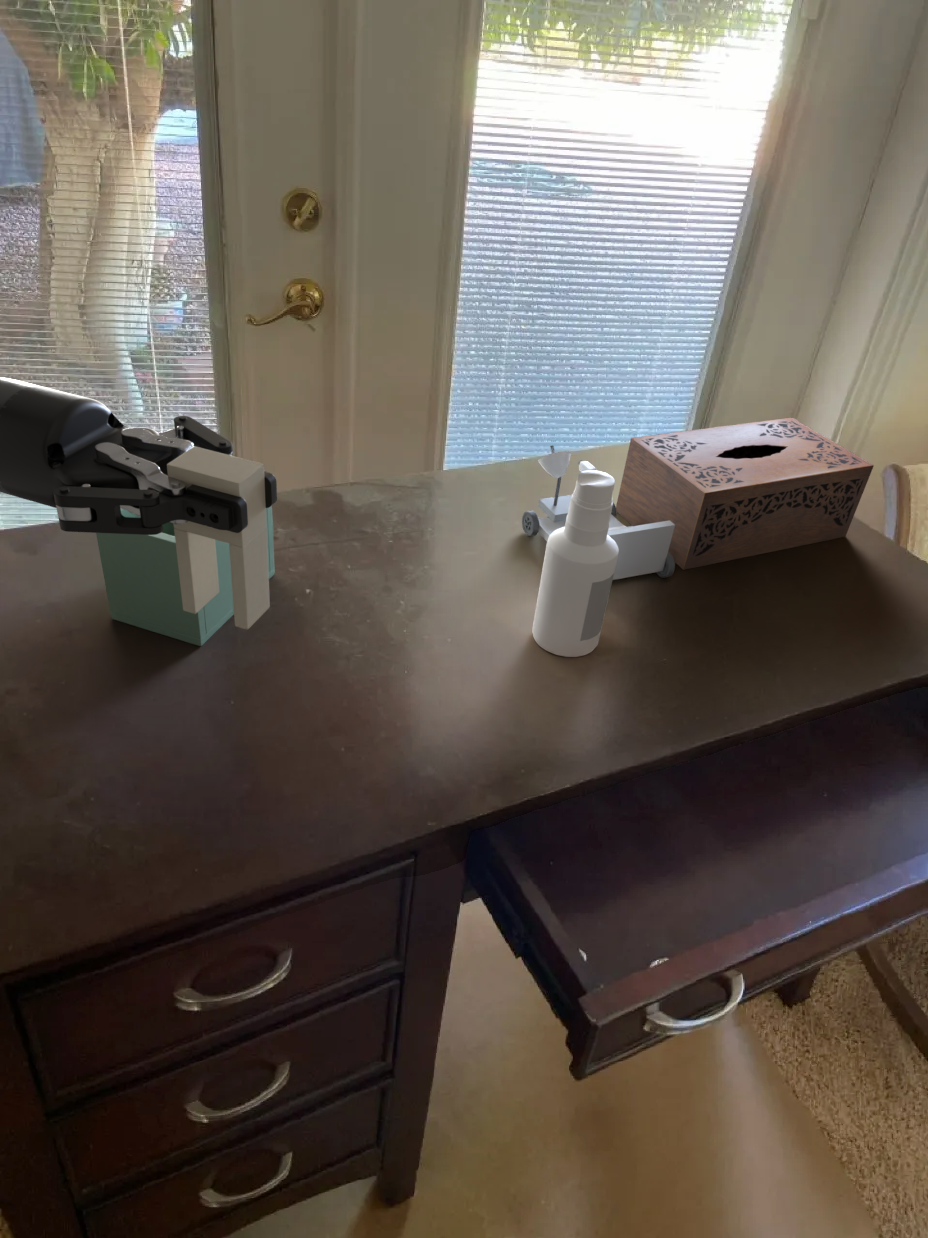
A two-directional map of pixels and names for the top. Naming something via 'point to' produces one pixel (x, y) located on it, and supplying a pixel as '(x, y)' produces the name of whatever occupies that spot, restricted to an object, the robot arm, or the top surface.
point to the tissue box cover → (742, 489)
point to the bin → (164, 583)
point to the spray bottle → (578, 571)
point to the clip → (224, 536)
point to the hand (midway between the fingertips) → (258, 503)
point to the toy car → (636, 544)
